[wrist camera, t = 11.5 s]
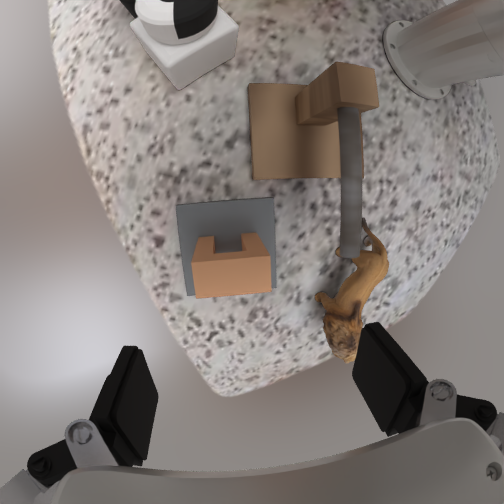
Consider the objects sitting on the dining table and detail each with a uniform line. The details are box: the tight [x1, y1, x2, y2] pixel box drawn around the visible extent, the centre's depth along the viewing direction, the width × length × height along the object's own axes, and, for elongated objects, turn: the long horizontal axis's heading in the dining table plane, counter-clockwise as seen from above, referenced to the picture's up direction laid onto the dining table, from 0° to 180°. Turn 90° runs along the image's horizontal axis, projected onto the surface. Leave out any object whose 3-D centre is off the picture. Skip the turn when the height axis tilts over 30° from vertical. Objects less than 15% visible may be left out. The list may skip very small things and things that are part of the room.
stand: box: [248, 62, 379, 258], centre depth 21 cm, size 12×16×12 cm
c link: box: [191, 232, 272, 298], centre depth 25 cm, size 6×3×8 cm, turn 93°
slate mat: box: [176, 197, 276, 296], centre depth 29 cm, size 10×10×1 cm
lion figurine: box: [315, 218, 389, 363], centre depth 27 cm, size 15×5×9 cm, turn 165°
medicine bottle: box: [130, 0, 239, 90], centre depth 16 cm, size 7×7×12 cm
